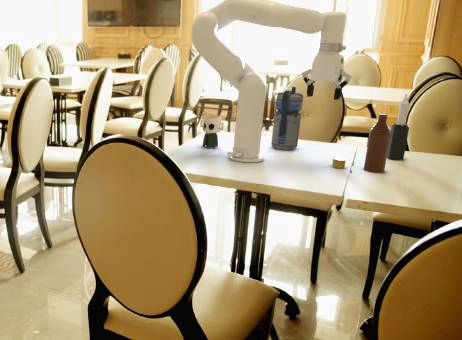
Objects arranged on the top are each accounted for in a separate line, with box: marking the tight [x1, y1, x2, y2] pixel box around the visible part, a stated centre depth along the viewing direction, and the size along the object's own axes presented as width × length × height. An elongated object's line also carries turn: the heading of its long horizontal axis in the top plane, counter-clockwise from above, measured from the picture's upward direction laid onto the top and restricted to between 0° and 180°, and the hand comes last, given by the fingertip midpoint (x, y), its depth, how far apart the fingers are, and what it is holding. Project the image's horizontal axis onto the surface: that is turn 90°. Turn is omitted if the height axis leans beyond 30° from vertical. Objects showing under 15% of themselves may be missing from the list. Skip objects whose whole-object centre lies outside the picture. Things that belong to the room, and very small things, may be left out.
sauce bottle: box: [363, 113, 391, 174], centre depth 179 cm, size 6×6×20 cm
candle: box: [386, 93, 410, 161], centre depth 196 cm, size 5×5×25 cm
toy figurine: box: [199, 114, 225, 149], centre depth 212 cm, size 11×7×13 cm, turn 45°
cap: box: [331, 157, 346, 170], centre depth 185 cm, size 4×4×3 cm
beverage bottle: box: [270, 86, 304, 151], centre depth 210 cm, size 10×13×25 cm
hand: (323, 97), depth 184 cm, fingers open, 9 cm apart
